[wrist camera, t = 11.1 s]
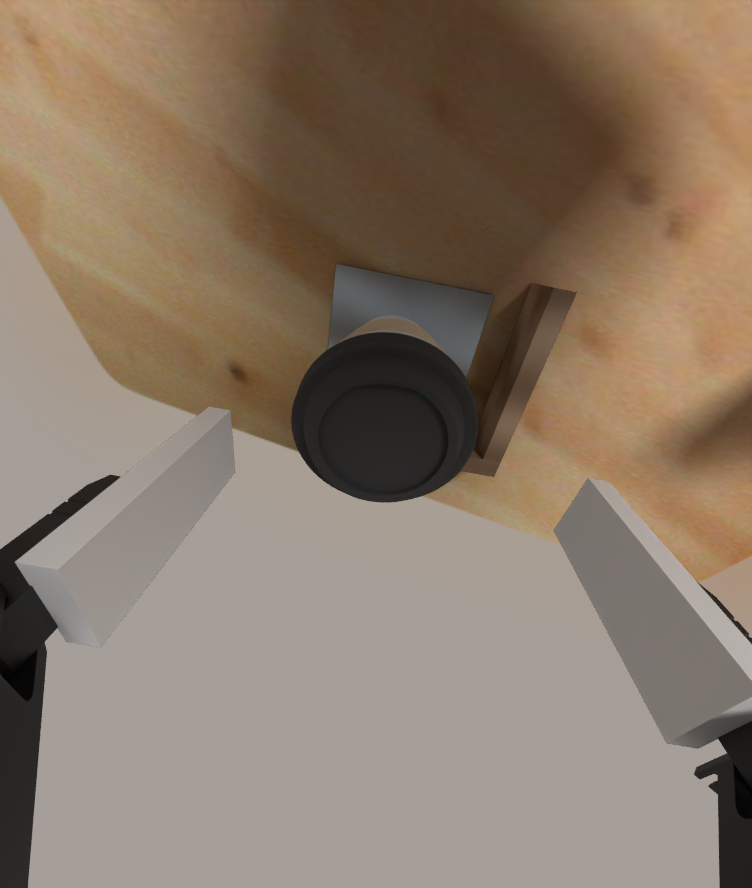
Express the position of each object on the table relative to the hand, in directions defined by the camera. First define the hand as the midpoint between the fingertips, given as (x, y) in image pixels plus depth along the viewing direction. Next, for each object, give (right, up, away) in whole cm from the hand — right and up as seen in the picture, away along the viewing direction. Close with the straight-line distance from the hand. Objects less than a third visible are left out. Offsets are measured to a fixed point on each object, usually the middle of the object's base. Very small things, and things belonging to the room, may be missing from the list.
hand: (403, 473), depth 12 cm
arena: (+3, +8, +15) cm, 17 cm away
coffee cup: (0, +8, +15) cm, 17 cm away
